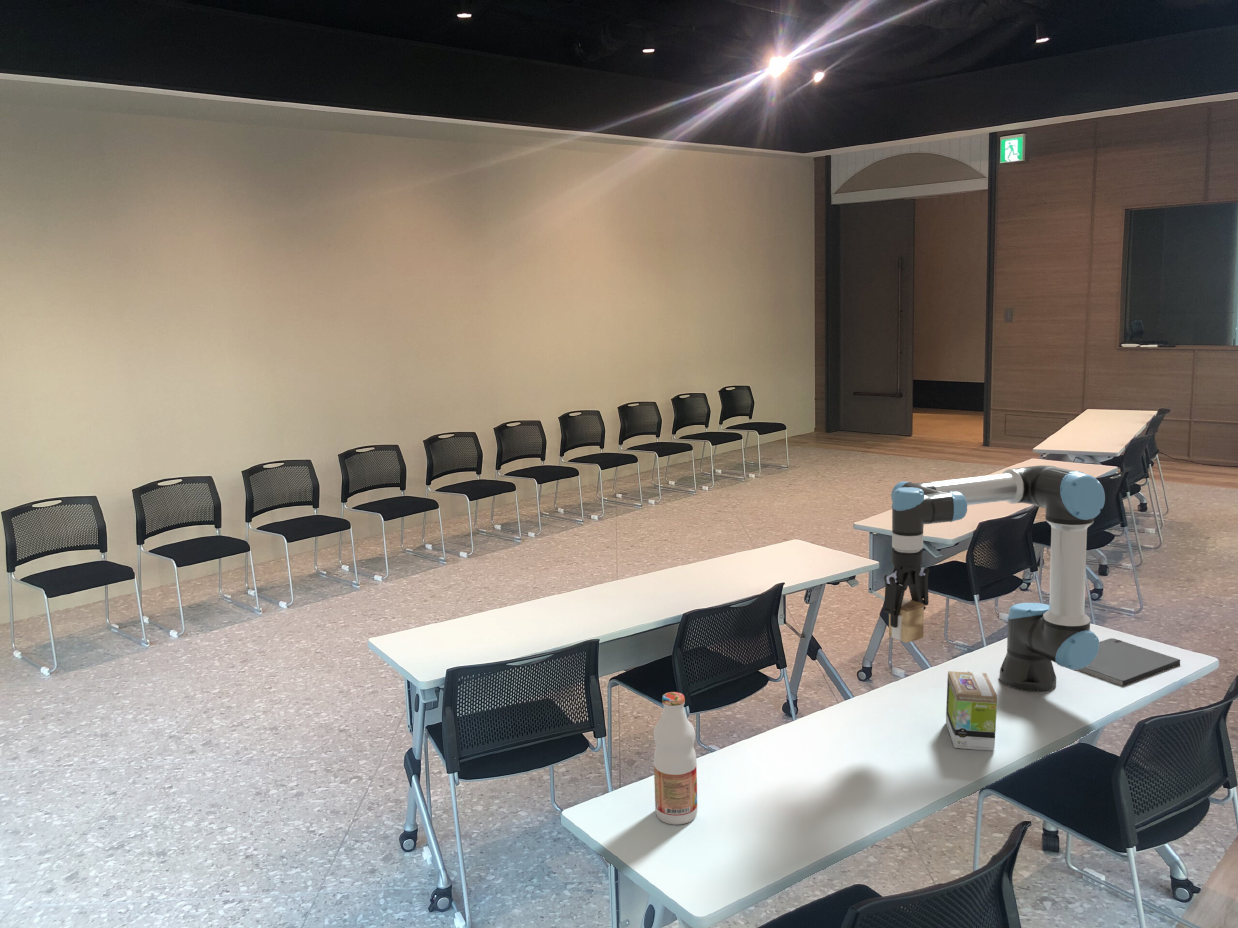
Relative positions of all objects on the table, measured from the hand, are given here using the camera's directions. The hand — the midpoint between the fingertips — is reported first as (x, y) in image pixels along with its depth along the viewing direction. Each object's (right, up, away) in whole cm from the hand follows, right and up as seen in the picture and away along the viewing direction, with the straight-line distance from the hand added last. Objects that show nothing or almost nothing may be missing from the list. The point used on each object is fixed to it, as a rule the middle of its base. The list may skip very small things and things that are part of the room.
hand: (906, 635), depth 236 cm
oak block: (0, 0, 0) cm, 0 cm away
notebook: (+77, -17, +41) cm, 89 cm away
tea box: (+16, -26, -1) cm, 31 cm away
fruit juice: (-61, -34, -32) cm, 77 cm away
